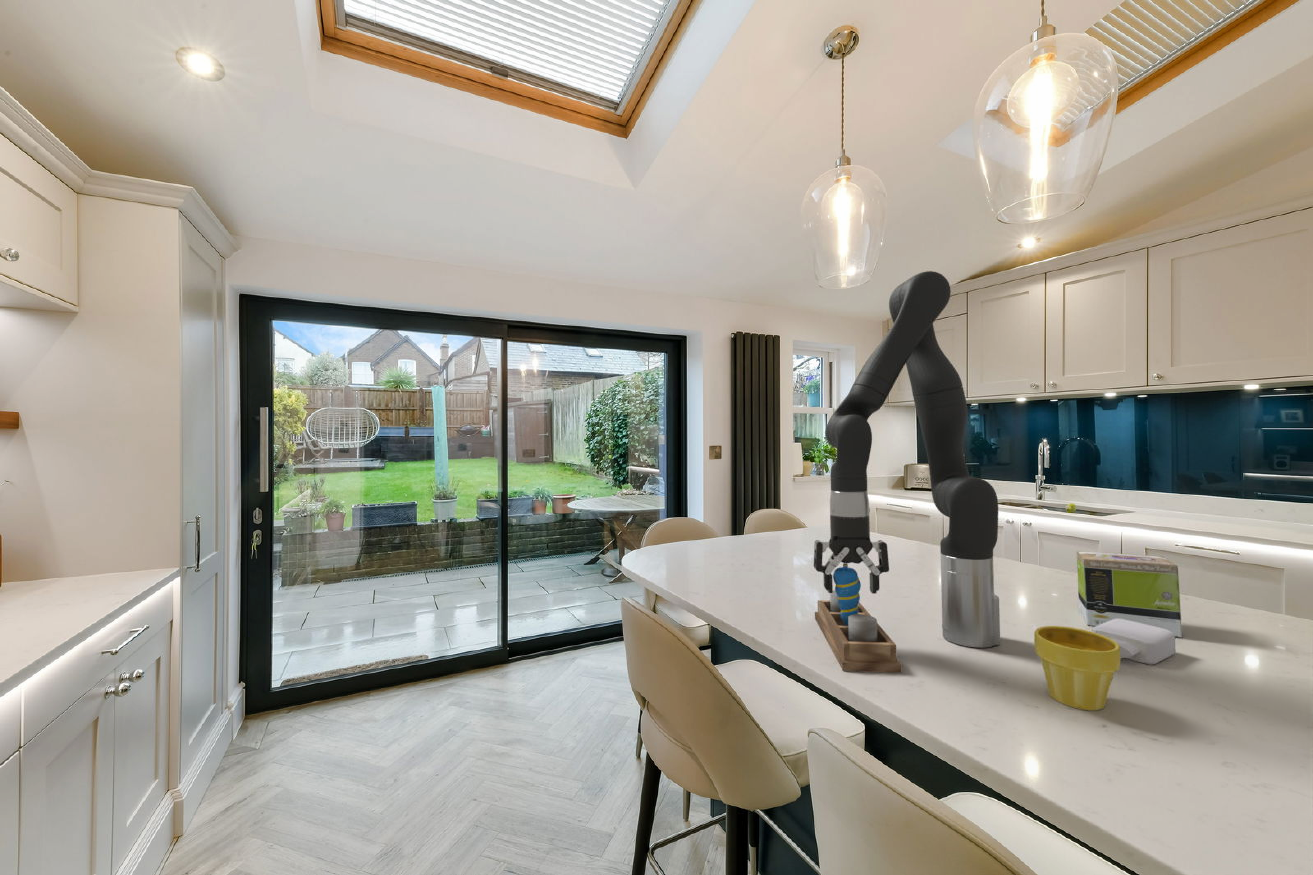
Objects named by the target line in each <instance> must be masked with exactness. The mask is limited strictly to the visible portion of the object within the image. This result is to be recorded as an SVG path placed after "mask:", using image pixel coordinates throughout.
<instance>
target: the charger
mask: <svg viewBox="0 0 1313 875" xmlns="http://www.w3.org/2000/svg"><path fill="white" fill-rule="evenodd" d="M1091 632H1094V633H1098V634H1100V635H1103V636H1106V637H1108V638H1110V639H1112V640H1114V641H1115V642H1117V643H1118V645H1119V646H1120V659H1126V660H1130V661H1134V662H1138V663H1141V664H1146V665H1150V666H1152V665H1155V664H1157V663H1160V662H1161V661H1163V660H1165V659H1167V658H1169V657H1171V656H1172V655H1174V654H1176V636H1175V635H1174V633H1173V632H1171V631H1169V630H1167V629H1163V628H1159V627H1155V626H1151V625H1146V624H1142V623H1138V622H1133V621H1129V620H1125V619H1113V620H1110V621H1108V622H1105V623H1103V624H1100V625H1098V626H1092V627H1091Z"/></svg>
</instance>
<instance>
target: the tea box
mask: <svg viewBox="0 0 1313 875" xmlns="http://www.w3.org/2000/svg"><path fill="white" fill-rule="evenodd" d="M1076 567H1077V568H1076V569H1077V587H1078V588H1077V589H1078V590H1077V592H1078V595H1077V596H1078V606H1079V613H1080V614H1081V615H1082V616H1081V617H1082V618H1083V619H1084V621H1085V624H1086V625H1087V626H1092V627H1095V626H1098V625H1100V624H1103V623H1105V622H1108V621H1110V620H1113V619H1125V620H1129V621H1133V622H1138V623H1142V624H1146V625H1151V626H1155V627H1159V628H1163V629H1167V630H1169V631H1171V632H1173V633H1174V635H1175V637H1178V638H1182V636H1183V634H1182V629H1183V628H1182V614H1181V613H1182V612H1181V611H1182V610H1181V597H1180V596H1181V595H1180V580H1179V566H1178V565H1177V564H1175V563H1174V562H1172V561H1170V560H1169V559H1167V558H1165V557H1164V556H1161V555H1149V554H1148V555H1147V554H1133V553H1132V554H1131V553H1114V552H1101V551H1100V552H1098V551H1086V550H1085V551H1084V550H1083V551H1081V550H1077V551H1076Z"/></svg>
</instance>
